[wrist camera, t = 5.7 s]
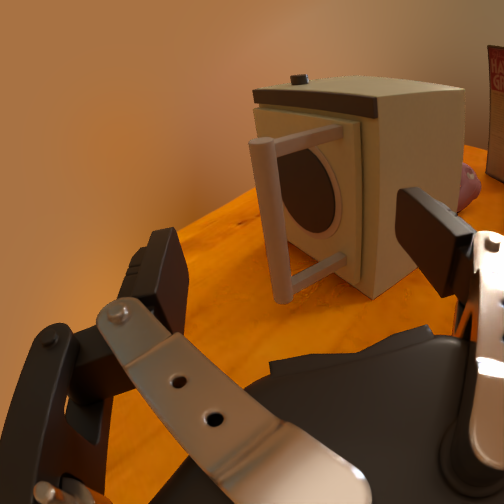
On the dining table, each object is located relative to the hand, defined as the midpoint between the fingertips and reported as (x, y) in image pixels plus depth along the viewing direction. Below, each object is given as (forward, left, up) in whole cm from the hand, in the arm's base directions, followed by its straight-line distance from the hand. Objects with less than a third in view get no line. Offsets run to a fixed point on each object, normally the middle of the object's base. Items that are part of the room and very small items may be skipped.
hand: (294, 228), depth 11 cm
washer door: (+15, -8, -14) cm, 22 cm away
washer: (+14, -20, -15) cm, 29 cm away
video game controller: (+12, -38, -15) cm, 43 cm away
